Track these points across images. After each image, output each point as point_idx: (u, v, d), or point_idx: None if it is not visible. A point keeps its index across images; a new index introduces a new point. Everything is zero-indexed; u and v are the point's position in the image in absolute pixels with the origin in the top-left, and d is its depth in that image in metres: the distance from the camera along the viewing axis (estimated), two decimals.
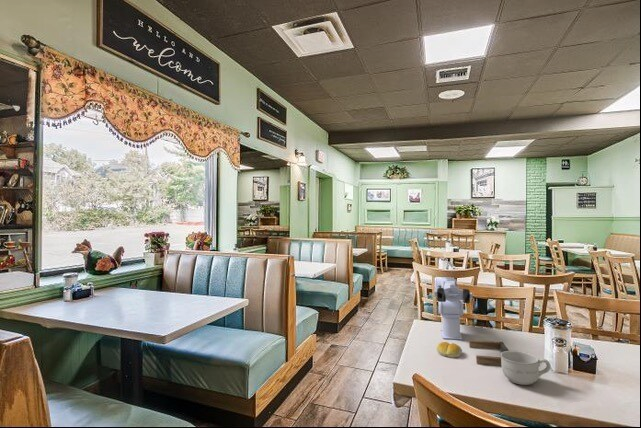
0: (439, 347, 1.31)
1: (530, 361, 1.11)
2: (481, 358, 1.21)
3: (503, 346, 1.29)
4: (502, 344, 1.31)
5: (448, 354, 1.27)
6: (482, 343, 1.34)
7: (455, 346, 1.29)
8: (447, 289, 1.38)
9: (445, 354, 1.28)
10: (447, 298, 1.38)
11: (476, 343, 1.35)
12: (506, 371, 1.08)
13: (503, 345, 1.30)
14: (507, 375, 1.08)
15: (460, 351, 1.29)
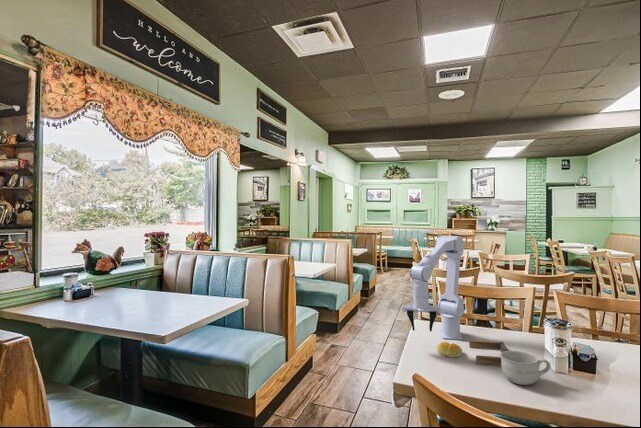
0: (439, 347, 1.31)
1: (530, 361, 1.11)
2: (481, 358, 1.21)
3: (503, 346, 1.29)
4: (502, 344, 1.31)
5: (448, 354, 1.27)
6: (482, 343, 1.34)
7: (455, 346, 1.29)
8: None
9: (445, 354, 1.28)
10: None
11: (476, 343, 1.35)
12: (506, 371, 1.08)
13: (503, 345, 1.30)
14: (507, 375, 1.08)
15: (460, 351, 1.29)
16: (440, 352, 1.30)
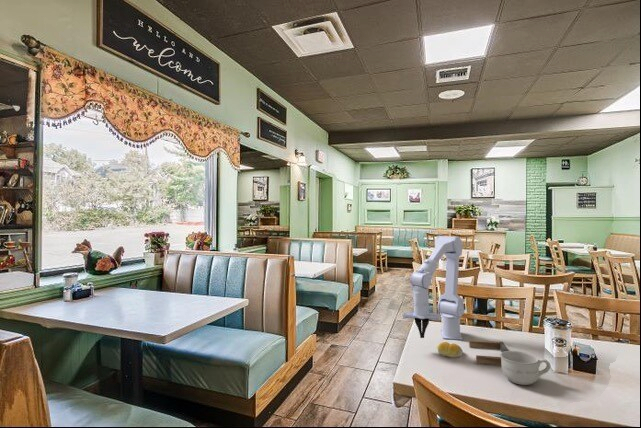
0: (439, 347, 1.31)
1: (530, 361, 1.11)
2: (481, 358, 1.21)
3: (503, 346, 1.29)
4: (502, 344, 1.31)
5: (449, 354, 1.27)
6: (482, 343, 1.34)
7: (455, 346, 1.29)
8: None
9: (445, 354, 1.28)
10: None
11: (476, 343, 1.35)
12: (506, 371, 1.08)
13: (503, 345, 1.30)
14: (507, 375, 1.08)
15: (460, 351, 1.29)
16: (440, 352, 1.29)
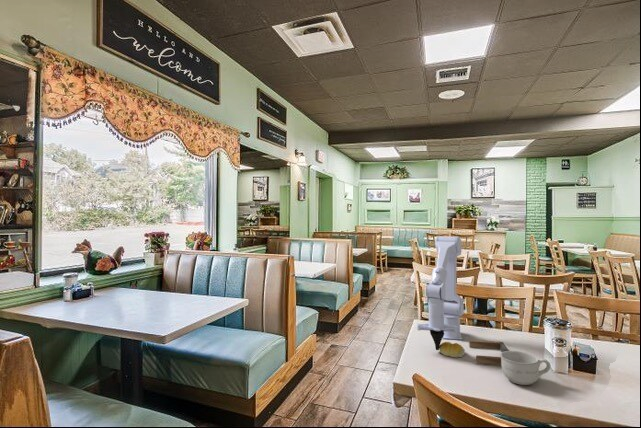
0: (442, 347, 1.31)
1: (530, 361, 1.11)
2: (481, 358, 1.21)
3: (503, 346, 1.29)
4: (502, 344, 1.31)
5: (451, 354, 1.27)
6: (482, 343, 1.34)
7: (458, 346, 1.29)
8: None
9: (448, 354, 1.28)
10: None
11: (476, 343, 1.35)
12: (506, 371, 1.08)
13: (503, 345, 1.30)
14: (507, 375, 1.08)
15: (463, 351, 1.29)
16: (442, 352, 1.29)
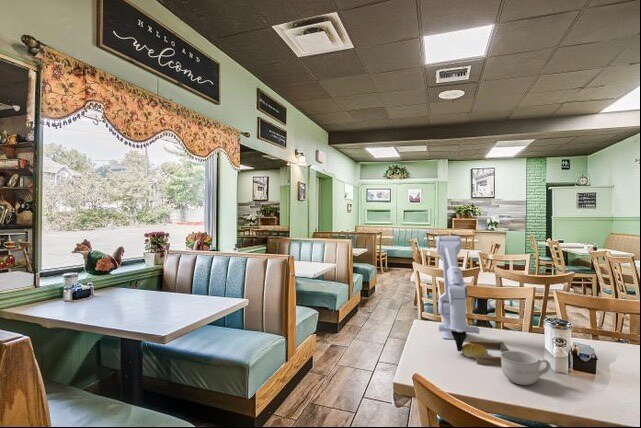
0: (464, 348, 1.29)
1: (530, 361, 1.11)
2: (481, 358, 1.21)
3: (503, 346, 1.29)
4: (502, 344, 1.31)
5: (474, 356, 1.25)
6: (482, 343, 1.34)
7: (481, 347, 1.26)
8: None
9: (470, 355, 1.26)
10: None
11: (476, 343, 1.35)
12: (506, 371, 1.08)
13: (503, 345, 1.30)
14: (507, 375, 1.08)
15: (486, 352, 1.26)
16: (465, 353, 1.27)
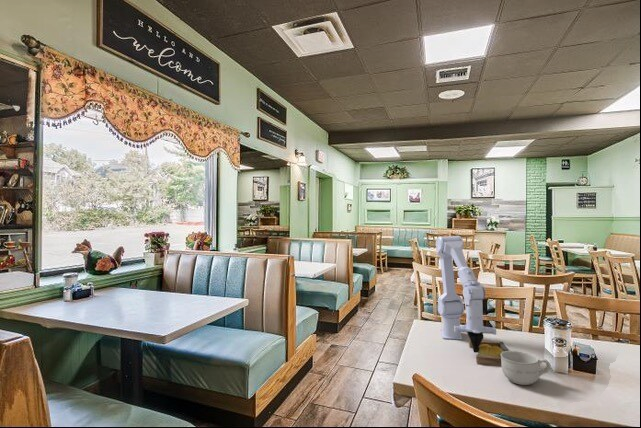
0: (480, 349, 1.27)
1: (530, 361, 1.11)
2: (481, 358, 1.21)
3: (503, 346, 1.29)
4: (502, 344, 1.31)
5: None
6: (482, 343, 1.34)
7: (497, 349, 1.25)
8: None
9: None
10: None
11: None
12: (506, 371, 1.08)
13: (503, 345, 1.30)
14: (507, 375, 1.08)
15: None
16: (481, 354, 1.26)
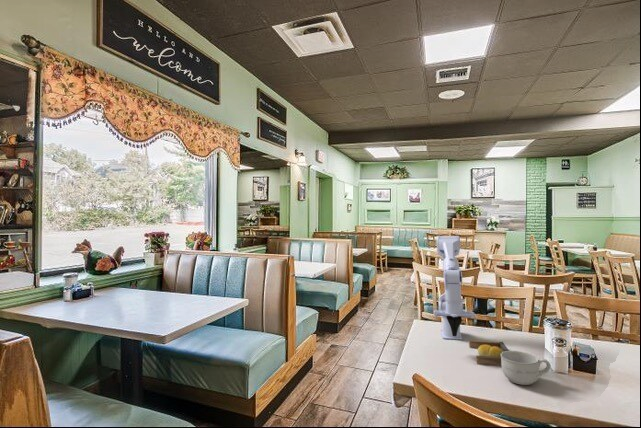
0: (480, 349, 1.28)
1: (530, 361, 1.11)
2: (481, 358, 1.21)
3: (503, 346, 1.29)
4: (502, 344, 1.31)
5: None
6: (482, 343, 1.34)
7: (497, 349, 1.25)
8: None
9: None
10: None
11: (476, 343, 1.35)
12: (506, 371, 1.08)
13: (503, 345, 1.30)
14: (507, 375, 1.08)
15: None
16: (481, 354, 1.26)
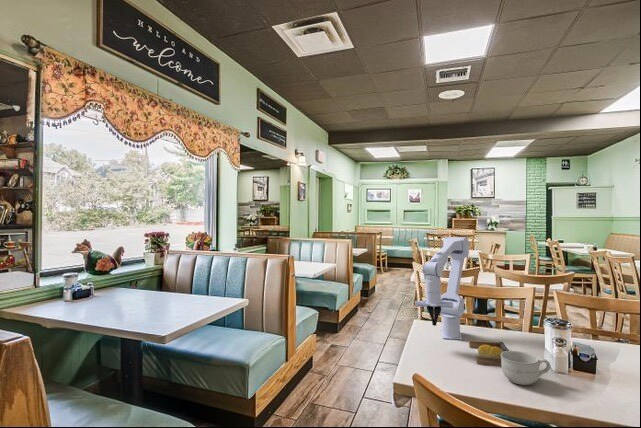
0: (480, 349, 1.27)
1: (530, 361, 1.11)
2: (481, 358, 1.21)
3: (503, 346, 1.29)
4: (502, 344, 1.31)
5: None
6: (482, 343, 1.34)
7: (497, 349, 1.25)
8: None
9: None
10: None
11: (476, 343, 1.35)
12: (506, 371, 1.08)
13: (503, 345, 1.30)
14: (507, 375, 1.08)
15: None
16: (481, 354, 1.26)
